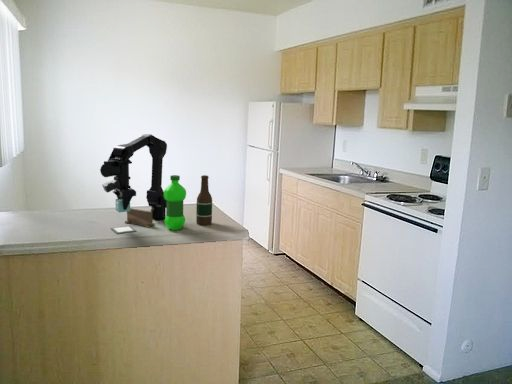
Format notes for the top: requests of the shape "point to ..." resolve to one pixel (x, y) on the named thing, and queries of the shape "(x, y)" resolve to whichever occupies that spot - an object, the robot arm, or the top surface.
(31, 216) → the top surface
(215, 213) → the top surface
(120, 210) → the letter cube
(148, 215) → the brown wooden block
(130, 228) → the pad
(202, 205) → the beer bottle
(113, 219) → the top surface
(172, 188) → the plastic bottle
